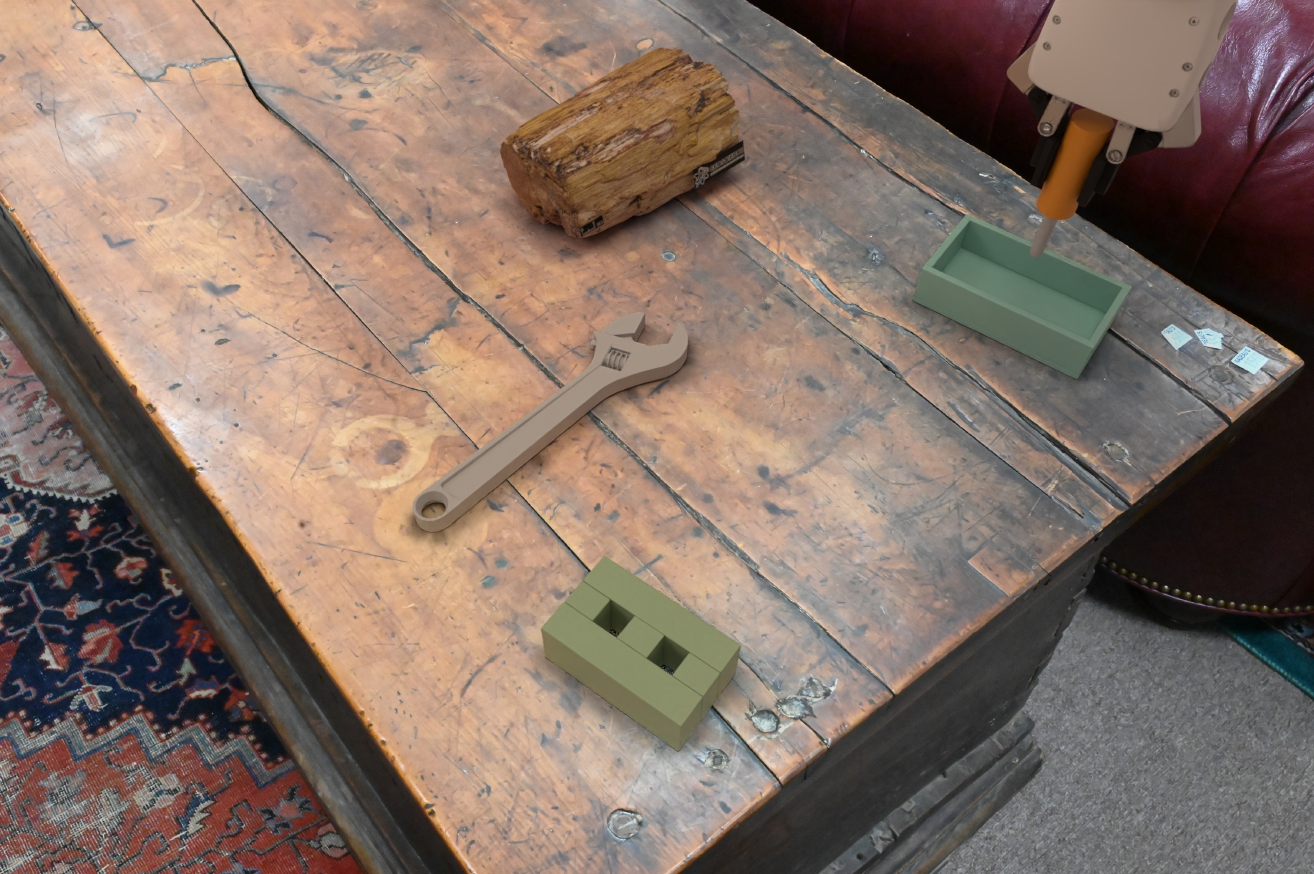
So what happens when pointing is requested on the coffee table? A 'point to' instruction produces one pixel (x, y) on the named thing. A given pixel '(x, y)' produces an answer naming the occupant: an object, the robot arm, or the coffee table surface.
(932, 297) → the tray
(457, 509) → the adjustable wrench
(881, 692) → the coffee table surface
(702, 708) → the holder
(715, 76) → the petrified wood
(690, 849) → the coffee table surface
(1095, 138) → the orange handle
